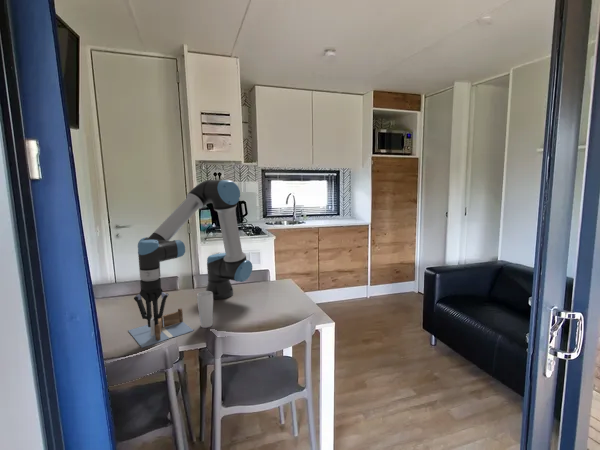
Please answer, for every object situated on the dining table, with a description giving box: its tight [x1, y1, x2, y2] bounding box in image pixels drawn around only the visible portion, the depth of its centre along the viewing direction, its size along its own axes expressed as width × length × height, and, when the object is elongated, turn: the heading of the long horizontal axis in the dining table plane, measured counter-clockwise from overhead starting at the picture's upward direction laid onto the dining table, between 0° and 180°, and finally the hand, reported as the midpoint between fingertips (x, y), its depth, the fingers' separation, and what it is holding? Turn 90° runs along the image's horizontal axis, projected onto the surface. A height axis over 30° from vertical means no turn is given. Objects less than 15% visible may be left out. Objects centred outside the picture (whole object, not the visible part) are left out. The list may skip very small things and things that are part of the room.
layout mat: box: [127, 319, 194, 349], centre depth 143 cm, size 19×21×1 cm
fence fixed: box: [163, 307, 184, 327], centre depth 148 cm, size 2×8×6 cm, turn 132°
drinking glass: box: [196, 290, 214, 329], centre depth 147 cm, size 7×7×15 cm
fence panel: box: [155, 314, 164, 340], centre depth 140 cm, size 13×2×6 cm, turn 17°
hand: (153, 333), depth 136 cm, fingers closed
